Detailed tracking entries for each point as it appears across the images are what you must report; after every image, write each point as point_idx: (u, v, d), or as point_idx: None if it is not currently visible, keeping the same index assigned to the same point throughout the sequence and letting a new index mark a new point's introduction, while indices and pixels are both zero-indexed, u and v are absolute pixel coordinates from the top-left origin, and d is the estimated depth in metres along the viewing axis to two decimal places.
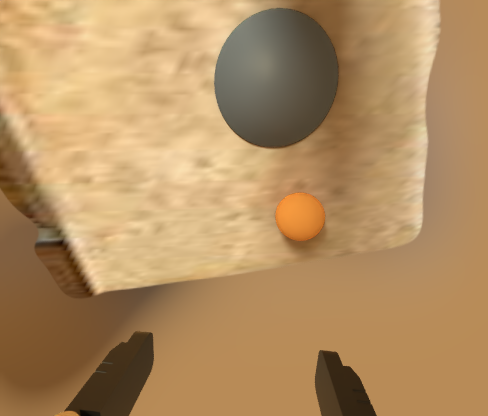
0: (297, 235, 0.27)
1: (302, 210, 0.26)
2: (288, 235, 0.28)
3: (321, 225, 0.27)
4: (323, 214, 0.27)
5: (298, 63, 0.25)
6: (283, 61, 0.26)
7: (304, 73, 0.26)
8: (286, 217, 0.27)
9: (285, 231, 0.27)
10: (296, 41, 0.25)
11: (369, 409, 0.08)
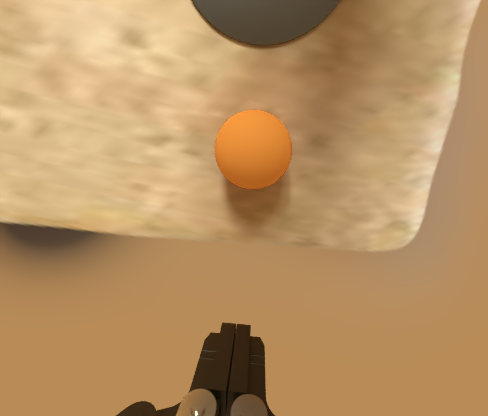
0: (238, 167, 0.16)
1: (257, 124, 0.15)
2: (225, 167, 0.17)
3: (281, 163, 0.16)
4: (289, 148, 0.17)
5: None
6: None
7: None
8: (229, 131, 0.16)
9: (222, 158, 0.16)
10: None
11: (260, 369, 0.10)
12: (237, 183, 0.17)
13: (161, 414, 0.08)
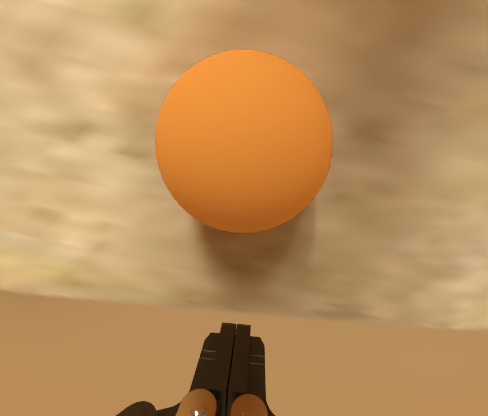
0: (201, 191, 0.06)
1: (250, 74, 0.06)
2: (175, 190, 0.07)
3: (312, 181, 0.07)
4: (329, 143, 0.07)
5: None
6: None
7: None
8: (177, 98, 0.06)
9: (165, 166, 0.07)
10: None
11: (260, 369, 0.10)
12: (207, 224, 0.08)
13: (161, 414, 0.08)
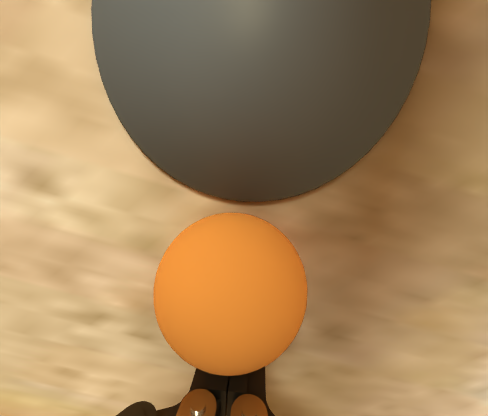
0: (203, 236, 0.08)
1: None
2: (174, 253, 0.08)
3: (291, 257, 0.08)
4: (299, 258, 0.09)
5: (328, 3, 0.09)
6: None
7: (334, 34, 0.09)
8: None
9: (175, 241, 0.08)
10: None
11: (260, 369, 0.10)
12: (188, 292, 0.07)
13: (161, 414, 0.08)
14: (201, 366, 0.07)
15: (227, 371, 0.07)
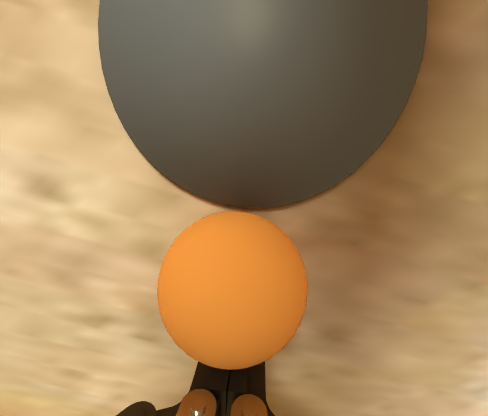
0: (208, 227, 0.08)
1: None
2: (180, 243, 0.08)
3: (291, 250, 0.08)
4: None
5: (327, 17, 0.09)
6: None
7: (334, 47, 0.10)
8: None
9: (181, 234, 0.09)
10: None
11: (261, 369, 0.10)
12: (192, 275, 0.07)
13: (161, 414, 0.08)
14: (202, 354, 0.07)
15: (227, 359, 0.07)
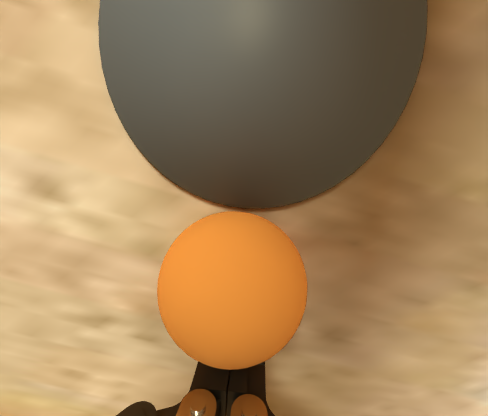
0: (208, 227, 0.08)
1: None
2: (180, 243, 0.08)
3: (291, 250, 0.08)
4: None
5: (328, 18, 0.10)
6: None
7: (334, 47, 0.10)
8: None
9: (181, 234, 0.09)
10: None
11: (261, 369, 0.10)
12: (192, 276, 0.07)
13: (161, 414, 0.08)
14: (202, 354, 0.07)
15: (227, 360, 0.07)
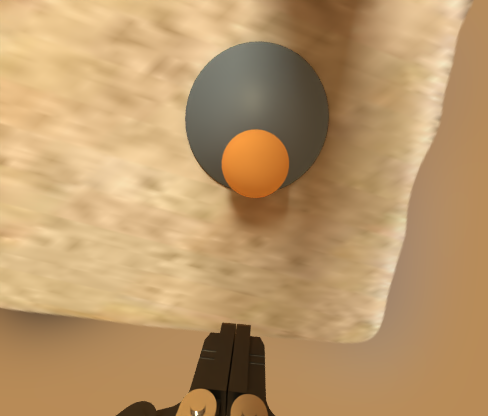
0: None
1: None
2: None
3: None
4: None
5: (287, 109, 0.22)
6: (270, 101, 0.22)
7: (290, 121, 0.22)
8: None
9: None
10: (290, 85, 0.22)
11: (261, 369, 0.10)
12: None
13: (161, 414, 0.08)
14: None
15: (263, 130, 0.20)
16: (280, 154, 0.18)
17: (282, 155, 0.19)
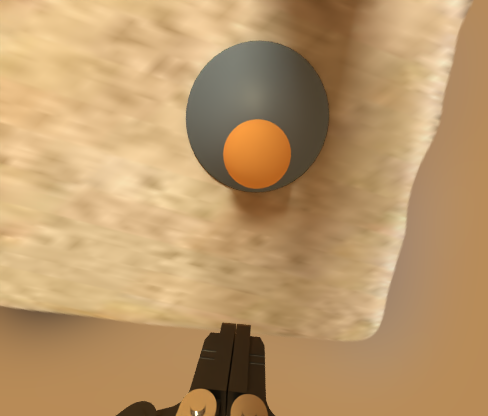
0: None
1: None
2: None
3: None
4: None
5: (287, 108, 0.22)
6: (271, 100, 0.22)
7: (290, 120, 0.22)
8: None
9: None
10: (290, 84, 0.22)
11: (261, 368, 0.10)
12: None
13: (161, 414, 0.08)
14: None
15: None
16: (283, 138, 0.19)
17: (285, 140, 0.19)
